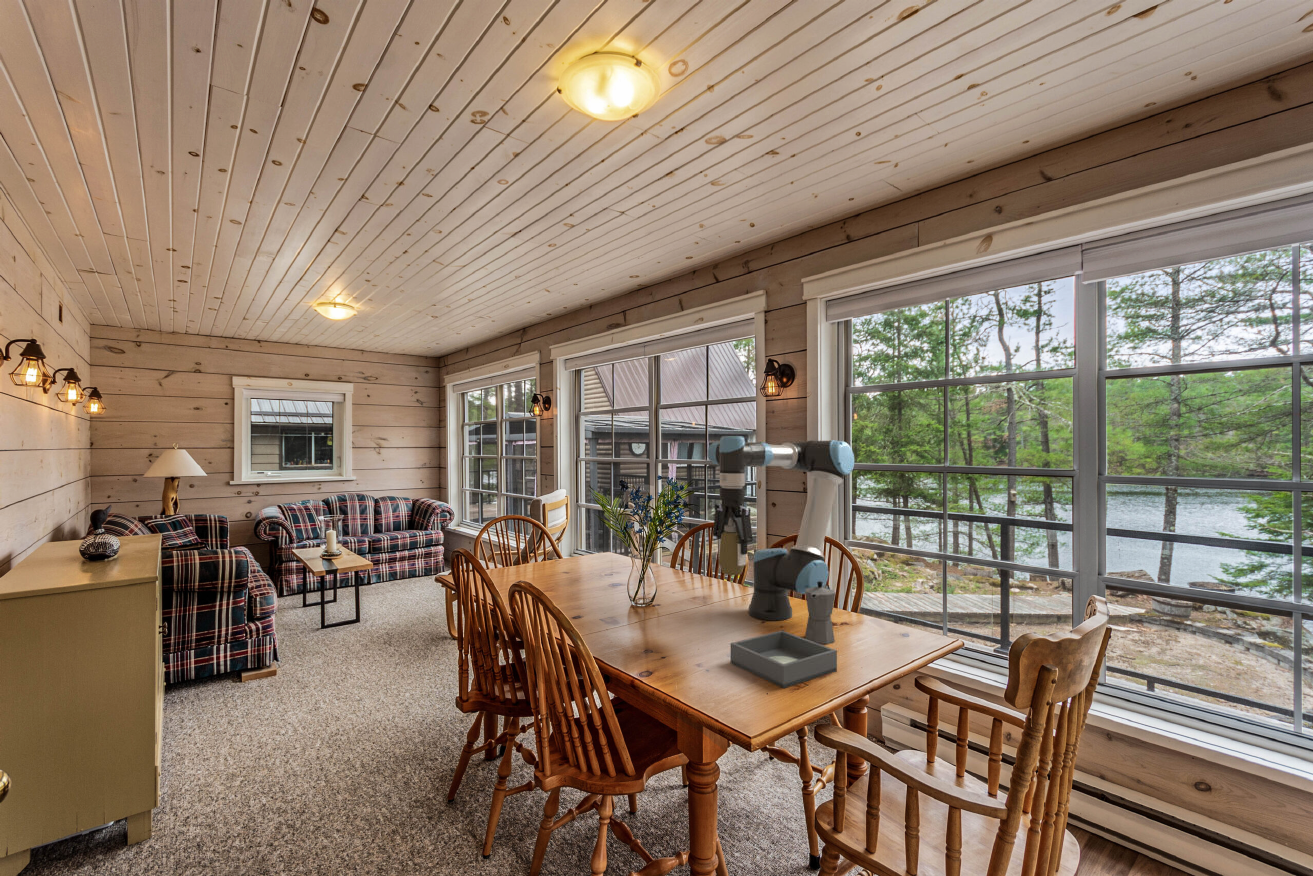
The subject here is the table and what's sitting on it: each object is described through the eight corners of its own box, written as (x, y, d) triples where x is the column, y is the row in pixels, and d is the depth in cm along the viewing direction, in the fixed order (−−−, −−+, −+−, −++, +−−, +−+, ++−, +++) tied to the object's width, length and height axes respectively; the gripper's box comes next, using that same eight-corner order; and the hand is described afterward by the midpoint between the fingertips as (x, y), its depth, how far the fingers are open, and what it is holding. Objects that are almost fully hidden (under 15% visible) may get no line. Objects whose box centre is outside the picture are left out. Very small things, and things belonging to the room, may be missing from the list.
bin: (781, 649, 175) (782, 630, 175) (836, 671, 158) (836, 650, 158) (730, 663, 164) (730, 643, 164) (783, 688, 147) (783, 666, 147)
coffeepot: (828, 648, 175) (828, 587, 175) (797, 642, 180) (797, 583, 180) (843, 634, 188) (843, 577, 188) (814, 629, 193) (814, 574, 193)
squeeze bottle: (742, 577, 173) (742, 515, 173) (715, 575, 176) (715, 514, 176) (748, 571, 181) (748, 512, 181) (722, 569, 184) (722, 511, 184)
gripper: (700, 485, 185) (700, 558, 185) (746, 490, 168) (746, 570, 168) (719, 484, 189) (719, 555, 189) (765, 488, 172) (765, 567, 172)
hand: (732, 562), depth 178 cm, fingers closed on squeeze bottle, 8 cm apart
